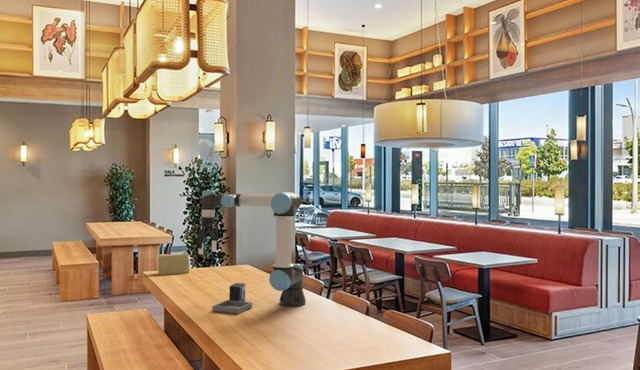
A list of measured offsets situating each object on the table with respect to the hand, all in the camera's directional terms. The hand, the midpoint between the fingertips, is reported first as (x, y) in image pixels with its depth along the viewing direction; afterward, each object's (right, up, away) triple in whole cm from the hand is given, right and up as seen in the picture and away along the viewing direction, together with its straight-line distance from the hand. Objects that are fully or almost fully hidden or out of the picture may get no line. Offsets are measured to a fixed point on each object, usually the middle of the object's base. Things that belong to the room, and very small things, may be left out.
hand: (207, 252), depth 305 cm
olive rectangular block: (-44, -27, +86) cm, 100 cm away
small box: (+18, -28, -4) cm, 34 cm away
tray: (+18, -28, -22) cm, 40 cm away
